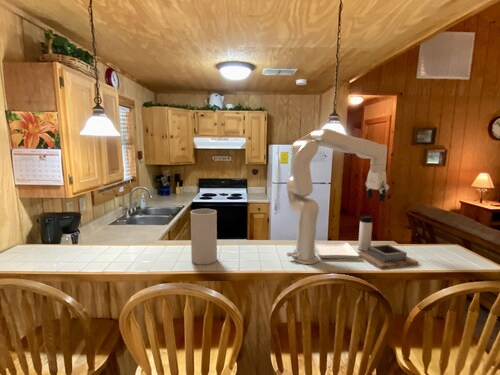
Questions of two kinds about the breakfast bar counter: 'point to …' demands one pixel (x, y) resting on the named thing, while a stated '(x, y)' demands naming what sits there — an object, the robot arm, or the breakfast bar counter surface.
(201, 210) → the cylinder vase
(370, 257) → the walnut board
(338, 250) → the salad plate
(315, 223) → the robot arm
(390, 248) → the metal collar
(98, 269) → the breakfast bar counter surface
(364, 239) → the travel mug
